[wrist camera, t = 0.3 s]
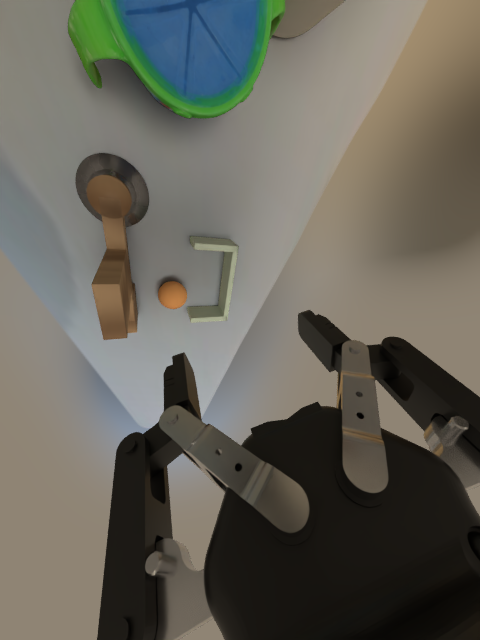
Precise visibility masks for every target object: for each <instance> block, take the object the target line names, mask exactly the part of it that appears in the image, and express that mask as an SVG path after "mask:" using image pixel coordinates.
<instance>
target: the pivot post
mask: <svg viewBox="0 0 480 640" xmlns="http://www.w3.org/2000/svg"><path fill="white" fill-rule="evenodd" d="M106 174H107V175H112V176H115V177H117V178H119V179H120V180H121V181H123V182H124V183H125V185H126V186H127V187H128V189H129V191H130V193H131V197H132V204H131V207H130V210H129V212H128V213H127V214H126V215H125V216H124V219H125V227H127V226H131V225H134V224H136V223H138V222H139V221H140V220H141V219H142V218H143V217H144V216H145V214H146V212H147V209H148V205H149V195H148V190H147V187H146V184H145V182H144V180H143V178H142V176H141V175H140V174H139V172H138V171H137V170H136V169H135V168H134V167H133V166H132V165H131V164H130V163H128V162H127V161H126V160H124V159H122V158H120V157H118V156H115V155H111V154H105V153H99V154H94V155H91V156H89V157H87V158H86V159H85V160H84V161H83V162H82V163H81V164H80V166H79V168H78V170H77V173H76V188H77V192H78V195H79V197H80V199H81V201H82V203H83V204H84V206H85V207H86V208H87V209H88V211H89V212H90V213H91V214H92V215H94V216H95V217H96V218H97V219H99V220H101V221H102V215H101V214H99V213H98V212H97V211H96V210H95V209H94V208H93V207H92V206H91V204H90V202H89V200H88V197H87V186H88V183H89V182H90V180H91V179H93V178H94V177H96V176H99V175H106ZM102 222H103V221H102Z"/></svg>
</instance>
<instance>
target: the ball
mask: <svg viewBox="0 0 480 640" xmlns="http://www.w3.org/2000/svg"><path fill="white" fill-rule="evenodd" d="M158 298H159V300H160V302H161V304H162V305H164V306H165V307H167V308H170V309H177V308H179V307H181V306H182V305H183V304H184V303H185V302H186V299H187V292H186V289H185V288H184V286H183V285H181V284H180V283H178V282H175V281H169V282H166V283H164V284H163V285H162V286H161V287H160V289H159V292H158Z"/></svg>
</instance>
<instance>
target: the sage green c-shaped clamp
mask: <svg viewBox="0 0 480 640" xmlns="http://www.w3.org/2000/svg"><path fill="white" fill-rule="evenodd" d="M190 243H191V245H192V246H193V248H194V250H209V251H225V252H224V261H223V269H222V277H221V285H220V293H219V301H218V306H195V307H187V311H188V315H189V318H190V321H191V323H193V322H210V321H226V320H227V318H228V312H229V305H230V299H231V292H232V286H233V279H234V273H235V266H236V260H237V253H238V247H239V246H238V245H236V244H235V243H234V242H233V241H232V240H230V239H219V238H207V237H195V236H190Z"/></svg>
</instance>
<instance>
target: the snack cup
mask: <svg viewBox="0 0 480 640" xmlns="http://www.w3.org/2000/svg"><path fill="white" fill-rule="evenodd" d="M284 13H285V0H75V2H74V4H73V6H72V8H71V11H70V15H69V19H68V33H69V35H70V38H71V40H72V42H73V44H74V46H75V48H76V50H77V53H78V55H79V57H80V59H81V61H82V63H83V66H84V68H85V70H86V72H87V74H88V76H89V78H90V79H91V81H92V82H93V83H94V84H95V85H96V86H97V87H98V88H102V81H101V76H100V73H99V71H98V69H97V67H96V65H95V63H94V62H95V61H98V60H101V59H119V60H122V61H125V62H126V63H127V64H129V65H130V67H131V68H132V69H133V71H134V72H135V74H136V75H137V76H138V78H139V79H140V80H141V81H142V83H143V84H144V85H145V86H146V88H147V90H148V91H149V92H150V93H151V95H152V96H153V97H154V98H155V99H156V100H157V101H158V102H159V103H160V104H162V105H163V106H165V107H166V108H168V109H170V110H172V111H173V112H174V113H176V114H178V115H180V116H183V117H185V118H191V117H194V118H213V117H217V116H220V115H222V114H224V113H226V112H228V111H229V110H231V109H232V108H234V107H235V106H236V105H237V104H238V103H239V102H243V101H244V100H245V99H246V98H247V97H248V96H249V94H250V93H251V91H252V90H253V84H254V83H255V81H256V79H257V77H258V75H259V73H260V70H261V67H262V65H263V62H264V59H265V55H266V51H267V46H268V42H269V40H270V39H271V37H272V35H273V34H274V32H275V31H276V29H277V27H278V25H279V23H280V21H281V19H282V18H283V16H284Z"/></svg>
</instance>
